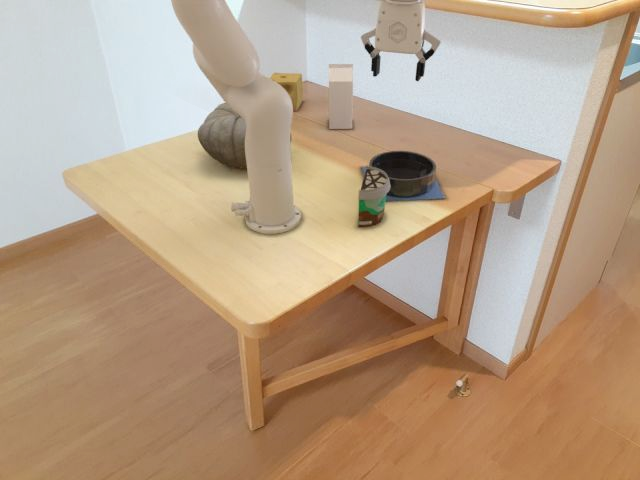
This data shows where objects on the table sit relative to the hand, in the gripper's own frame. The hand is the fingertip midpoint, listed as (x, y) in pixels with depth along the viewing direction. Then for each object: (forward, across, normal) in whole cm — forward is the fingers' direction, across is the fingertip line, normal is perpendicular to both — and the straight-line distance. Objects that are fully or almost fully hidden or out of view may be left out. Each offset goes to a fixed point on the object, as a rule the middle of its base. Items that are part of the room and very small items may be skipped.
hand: (396, 77), depth 115 cm
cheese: (+27, -47, +42) cm, 69 cm away
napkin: (+27, +3, +1) cm, 27 cm away
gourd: (+27, -40, 0) cm, 49 cm away
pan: (+27, +3, +1) cm, 27 cm away
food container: (+27, +1, -17) cm, 32 cm away
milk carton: (+27, -24, +32) cm, 48 cm away
